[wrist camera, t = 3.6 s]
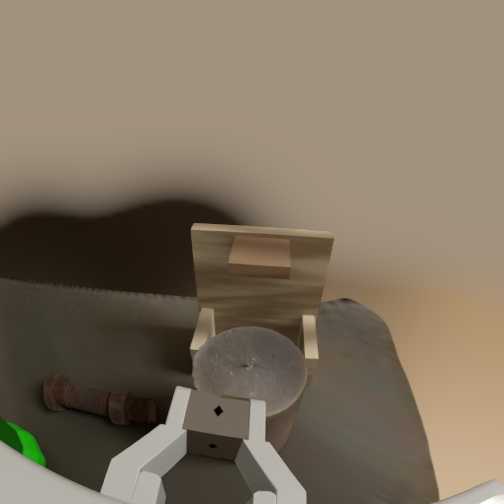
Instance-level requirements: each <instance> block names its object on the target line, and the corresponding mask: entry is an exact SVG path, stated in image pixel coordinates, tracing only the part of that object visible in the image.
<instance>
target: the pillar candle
mask: <svg viewBox="0 0 504 504" xmlns="http://www.w3.org/2000/svg"><path fill="white" fill-rule="evenodd" d="M193 359H194V362H193V363H192V364H193V370H192V378H193V380H194V386H195V389H196V390H198V391H203V392H208V393H213V394H218V395H226V396H233V397H241V398H249V399H253V400H262V401H265V403H266V419H265V442H270V444H271V445H272V447H273V448H274V449H275V451H276V452H277V454H279V453H280V452H281V450H282V449H283V448H284V447H285V445H286V443H287V441H288V438H289V436H290V433H291V430H292V428H293V425H294V422H295V418H296V415H297V413H298V410H299V406H300V403H301V400H302V397H303V393H304V389H305V385H306V381H307V374H308V370H307V366H306V362H305V359H304V356H303V354H302V353H301V351H300V349H299V348H298V347H297V346H296V345H295V344H294V343H293V342H292V341H291V340H290V339H289V338H287V337H285V336H283V335H282V334H280V333H278V332H276V331H274V330H271V329H267V328H262V327H254V326H249V327H248V326H247V327H237V328H233V329H229V330H226V331H224V332H221V333H219V334H217V335H215V336H214V337H212V338H211V339H210V340H208V341H207V342H206V343H205V344H204V345H202V346H200V347H199V349H198V352H197V353H196V354H195V356H194V358H193ZM233 461H235V460H233Z"/></svg>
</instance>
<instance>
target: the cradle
mask: <svg viewBox="0 0 504 504" xmlns="http://www.w3.org/2000/svg"><path fill="white" fill-rule="evenodd" d="M191 236H192V248H193V258H194V268H195V277H196V285H197V286H196V287H197V296H198V304H199V312H200V315H199V319H198V322H197V326H196V329H195V333H194V336H193V340H192V343H191V347H190V352H191V357H192V362H194V359H193V358H194V356H195V354H196V353H197V352H198V349H199V347H200V346H202V345H204V344H205V343H206V342H207V341H208V340H210V339H211V338H212V337H214V336H215V335H217V334H219V333H221V332H224V331H226V330H229V329H233V328H237V327H247V326H248V327H249V326H254V327H262V328H267V329H271V330H274V331H276V332H278V333H280V334H282V335H283V336H285V337H287V338H289V339H290V340H291V341H292V342H293V343H297V347H298V348H299V349H300V351H301V353H302V354H303V356H304V359H305V362H306V366H307V370H308V374H307V381H306V385H310V382H311V379H312V376H313V374H314V371H315V368H316V365H317V362H318V348H317V337H316V328H315V322H316V318H317V314H318V310H319V306H320V302H321V297H322V293H323V289H324V284H325V279H326V275H327V270H328V265H329V261H330V256H331V250H332V246H333V241H334V237H333V234H332V232H325V231H312V230H298V229H284V228H269V227H253V226H236V225H218V224H198V223H194V224H193V226H192V228H191Z"/></svg>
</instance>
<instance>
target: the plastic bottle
mask: <svg viewBox="0 0 504 504" xmlns="http://www.w3.org/2000/svg"><path fill="white" fill-rule="evenodd" d="M0 440H1V441H2V442H4V443H5V444H7V445H8V446H10V447H11V448H13V449H14V450H16V451H18V452H19V453H21V454H22V455H24V456H26V457H27V458H29V459H31V460H32V461H34V462H36V463H38V464H39V465H41V466H43V467H45V464H46V460H45V458H44V456H43V454H42V452H41V450H40V448H39V446H38V444H37V442H36V440H35V438H34V437H33V436H32V435H31V434H30V433H28V432H26V431H25V430H23V429H21V428H20V427H18V426H16V425H15V424H13V423H9V422H5V421H4V420H3V419H2V418H1V417H0Z"/></svg>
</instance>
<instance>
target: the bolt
mask: <svg viewBox="0 0 504 504" xmlns="http://www.w3.org/2000/svg"><path fill="white" fill-rule="evenodd" d="M43 397H44V400H45V403H46V405H47V407H48V408H49V409H51V410H54V411H66V408H67V407H69V408H75V409H78V410H82V411H86V412H91V413H95V414H99V415H103V416H108V417H110V419H111V421H112V422H113V423H115V424H120V425H127V424H129V423H130V422H131V421H135V422H141V423H142V422H143V423H148V424H150V423H151V424H153V423H156V422H157V416H158V403H157V402H156V401H155V400H152V399H151V400H150V399H144V398H143V399H142V398H139V397H138V398H137V397H133V396H132V394H131V392H130V391H125V390H118V389H114V390H113V391H112V392H111V393H109V392H105V391H100V390H99V391H98V390H94V389H89V388H85V387H81V386H77V385H74V384H71V383H69V379H68V376H65V375H60V374H56V373H50V374H49V375H48V376H47V378H46V380H45V382H44V389H43Z"/></svg>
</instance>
